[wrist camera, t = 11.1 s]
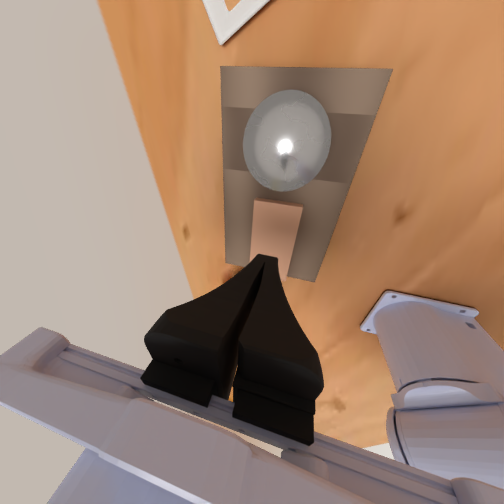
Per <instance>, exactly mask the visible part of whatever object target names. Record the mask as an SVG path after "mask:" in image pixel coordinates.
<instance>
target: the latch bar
mask: <svg viewBox="0 0 504 504" xmlns="http://www.w3.org/2000/svg"><path fill="white" fill-rule="evenodd" d="M302 210H303V204H297V203H290V202H284V201H277V200H270V199H263V198H256V199H255V200H254V209H253V222H252V236H251V250H250V262H251V261H252V260H253V259H254V257H255V256H256V255H257V254H263V255H268V256H273V257H277V258H278V268H279V275H280V279H281V280H282V281H286V277H287V273H288V269H289V265H290V261H291V256H292V252H293V248H294V244H295V239H296V235H297V231H298V227H299V222H300V218H301V214H302Z"/></svg>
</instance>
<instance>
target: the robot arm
mask: <svg viewBox="0 0 504 504" xmlns="http://www.w3.org/2000/svg"><path fill="white" fill-rule="evenodd" d="M393 295H394V296H393ZM478 314H479V312H478V311H477V310H476V309H474V308H470V307H465V306H460V305H456V304H451V303H446V302H441V301H436V300H432V299H427V298H422V297H417V296H413V295H408V294H403V293H398V292H394V291H386V292H384V293H383V295H382V296H381V298H380V299H379V300H378V302H377V303H376V305H375V306H374V307H373V309H372V310H371V312H370V313H369V315H368V316H367V317H366V319H365V320H364V322H363V323H362V324H361V326H360V329H361V330H362V331H365V332H369V333H373V334H377V336H378V339H379V342H380V345H381V348H382V350H383V353H384V356H385V359H386V362H387V365H388V368H389V371H390V373H391V376H392V379H393V382H394V385H395V388H396V391H397V393H395V394H391V398H392V401H393V404H394V407H391V408H389V410H388V412H387V420H386V430H387V436H388V441H389V444H390V448H391V450H392V453H393V456H394V459H395V460H392V459H389V458H387V457H384V456H381V455H378V454H375V453H373V452H370V451H367V450H364V449H362V448H359V447H356V446H353V445H351V444H348V443H345V442H342V441H339V440H337V439H334V438H331V437H328V436H326V435H323V434H320V433H317V432H314V417H313V415H314V414H315V400H316V398H317V397H318V396H319V395H320V393H321V392H322V390H323V388H324V380H323V374H322V368H321V364H320V360H319V357H318V353H317V351H316V350H315V348H314V347H313V346H312V344H311V343H310V341H309V340H308V338H307V337H306V335H305V333H304V332H303V330H302V328H301V327H300V325H299V323H298V321H297V320H296V318H295V316H294V314H293V312H292V310H291V308H290V305H289V303H288V301H287V298H286V296H285V293H284V290H283V287H282V283H281V279H280V275H279V268H278V258H277V257H273V256H268V255H263V254H257V255H256V256H255V257H254V259H253V260H252V261H251V262H250V263H249V264H248V265H246V266H245V267H244V268H243V269H242V270H241V271H240V272H239V273H237V274H236V275H235V276H234V277H232V278H231V279H230V280H228V281H227V282H225V283H224V284H222V285H221V286H219V287H217V288H216V289H214V290H212V291H211V292H209V293H207V294H205V295H203V296H201V297H199V298H196V299H194V300H192V301H190V302H187V303H185V304H182V305H179V306H176V307H173V308H171V309H168V310H166V311H165V313H163V314H162V316H161V317H160V318H159V319H158V320H157V321H156V323H155V324H154V325H153V327H152V328H151V329H150V330H149V331H148V333H147V334H146V335H145V338H144V342H145V345H146V347H147V349H148V351H149V353H150V355H151V357H152V358H153V360H152V361H151V363H150V364H149V366H148V367H147V368H146V370H142V369H139V368H136V367H134V366H131V365H128V364H125V363H122V362H120V361H117V360H114V359H111V358H109V357H106V356H103V355H100V354H97V353H94V352H92V351H89V350H86V349H83V348H81V347H78V346H75V345H72V344H70V342H69V341H68V340H67V339H66V338H65V337H64V336H63V335H61V334H59V333H57V332H54V331H51V330H48V329H46V328H43V327H40V328H38V329H36V330H35V331H34V332H32V333H31V334H29V335H28V336H27V337H25V338H24V339H23V340H21V341H20V342H19V343H17V344H16V345H14V346H13V347H12V348H10V349H9V350H7V351H6V352H5V353H3V354H2V355H0V405H1V406H3V407H5V408H7V409H9V410H11V411H13V412H15V413H17V414H19V415H21V416H23V417H25V418H27V419H29V420H31V421H34V422H36V423H37V424H40V425H42V426H43V427H45V428H47V429H50V430H52V431H54V432H56V433H58V434H60V435H62V436H64V437H66V438H68V439H70V440H72V441H74V442H76V443H78V444H80V445H82V446H84V447H86V449H85V450H84V451H83V453H82V454H81V456H80V457H79V459H78V460H77V462H76V463H75V464H74V466H73V467H72V468H71V470H70V472H69V473H68V474H67V476H66V477H65V478H64V480H63V481H62V483H61V484H60V486H59V487H58V489H57V490H56V491H55V493H54V494H53V495H52V497H51V498H50V500H49V501H48V503H47V504H504V351H503V350H502V349H501V347H500V346H499V345H498V344H497V343H496V342H495V341H494V340H493V339H492V337H491V336H490V335H489V334H488V333H487V332H486V331H485V330H484V329H483V328H482V326H481V325H480V324H479V323H478V322H477V321H476V320H475V319H474V317H476V316H477V315H478ZM237 365H238V367H237ZM236 368H237V371H236ZM235 372H236V374H235ZM234 376H235V377H234ZM233 380H234V381H233ZM231 387H233V402H231V401H228V399H229V395H230V391H231ZM148 397H149V398H148ZM150 398H152V399H155V400H157V401H160V402H163V403H165V404H167V405H170V406H173V407H175V408H178V409H180V410H183V411H185V412H188V413H191V414H193V415H196V416H198V417H201V418H204V419H206V420H209V421H212V422H214V423H217V424H219V425H222V426H224V427H227V428H229V429H232V430H234V431H237V432H240V433H242V434H245V435H247V436H250V437H253V438H255V439H258V440H260V441H263V442H265V443H268V444H271V445H273V446H276V447H278V448H281V449H283V451H282V452H281V458H280V457H278V456H276V455H274V454H271V453H269V452H267V451H265V450H263V449H261V448H259V447H257V446H255V445H253V444H251V443H249V442H247V441H245V440H243V439H242V438H241V437H239V436H237V435H236V434H234V433H232V432H229V431H227V430H225V429H223V428H221V427H218V426H215V425H213V424H210V423H207V422H205V421H203V420H200V419H198V418H195V417H192V416H190V415H187V414H185V413H182V412H180V411H177V410H174V409H171V408H169V407H166V406H164V405H162V404H159V403H156V402H154V400H152V399H150Z"/></svg>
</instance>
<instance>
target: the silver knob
mask: <svg viewBox="0 0 504 504" xmlns="http://www.w3.org/2000/svg"><path fill="white" fill-rule="evenodd" d="M330 145H331V128H330V122H329V119H328V116H327V114H326V112H325V110H324V108H323V107H322V105H321V104H320V103H319V102H318V101H317V100H316V99H315V98H314V97H313V96H311V95H309V94H307V93H306V92H303V91H299V90H283V91H279V92H277V93H274V94H272V95H270V96H269V97H267V98H266V99H265V100H263V101H262V102H261V103H260V104H259V105H258V106H257V107H256V109H255V110H254V111H253V113H252V115H251V116H250V118H249V120H248V123H247V125H246V128H245V132H244V137H243V153H244V158H245V162H246V165H247V167H248V169H249V171H250V173H251V174H252V176H253V177H254V178H255V179H256V180H257V181H258V182H259V183H260V184H261V185H263V186H264V187H266V188H268V189H271V190H274V191H282V192H284V191H292V190H295V189H298V188H300V187H302V186H304V185H306V184H307V183H309V182H310V181H311V180H312V179H313V178H314V177H315V176H316V175H317V174H318V173H319V171H320V170H321V168H322V167H323V165H324V163H325V161H326V159H327V156H328V153H329V150H330Z"/></svg>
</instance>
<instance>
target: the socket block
mask: <svg viewBox="0 0 504 504" xmlns="http://www.w3.org/2000/svg"><path fill="white" fill-rule="evenodd" d="M220 69H221V107H222V144H223V182H224V220H225V258H226V263H228V264H233V265H237V266H242V267H245V266H246V265H248V264H249V263H250V250H251V236H252V222H253V209H254V200H255V199H256V198H263V199H270V200H277V201H284V202H290V203H297V204H303V210H302V214H301V218H300V222H299V227H298V231H297V235H296V239H295V244H294V248H293V252H292V256H291V261H290V265H289V269H288V273H287V276H288V277H293V278H297V279H302V280H306V281H311V282H315V280H316V277H317V275H318V272H319V269H320V267H321V264H322V261H323V258H324V256H325V253H326V250H327V248H328V245H329V242H330V239H331V237H332V234H333V231H334V228H335V226H336V223H337V220H338V218H339V215H340V212H341V209H342V207H343V204H344V201H345V199H346V196H347V193H348V190H349V188H350V185H351V182H352V179H353V177H354V174H355V171H356V169H357V166H358V163H359V160H360V158H361V155H362V152H363V150H364V147H365V144H366V141H367V139H368V136H369V133H370V130H371V128H372V125H373V122H374V120H375V117H376V114H377V111H378V109H379V106H380V103H381V101H382V98H383V95H384V92H385V90H386V87H387V84H388V81H389V79H390V76H391V73H392V71H393V69H371V68H306V67H241V66H220ZM283 90H299V91H303V92H306V93H307V94H309V95H311V96H313V97H314V98H315V99H316V100H317V101H318V102H319V103H320V104H321V105H322V107H323V108H324V110H325V112H326V114H327V116H328V119H329V122H330V128H331V145H330V150H329V153H328V156H327V159H326V161H325V163H324V165H323V167H322V168H321V170H320V171H319V173H318V174H317V175H316V176H315V177H314V178H313V179H312V180H311V181H310V182H309V183H307V184H306V185H304V186H302V187H300V188H298V189H295V190H292V191H284V192H282V191H274V190H271V189H268V188H266V187H264V186H263V185H261V184H260V183H259V182H258V181H257V180H256V179H255V178H254V177H253V176H252V174H251V173H250V171H249V169H248V167H247V165H246V162H245V158H244V153H243V137H244V132H245V128H246V125H247V123H248V120H249V118H250V116H251V115H252V113H253V111H254V110H255V109H256V107H257V106H258V105H259V104H260V103H261V102H262V101H263V100H265V99H266V98H267V97H269V96H270V95H272V94H274V93H277V92H279V91H283Z"/></svg>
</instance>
